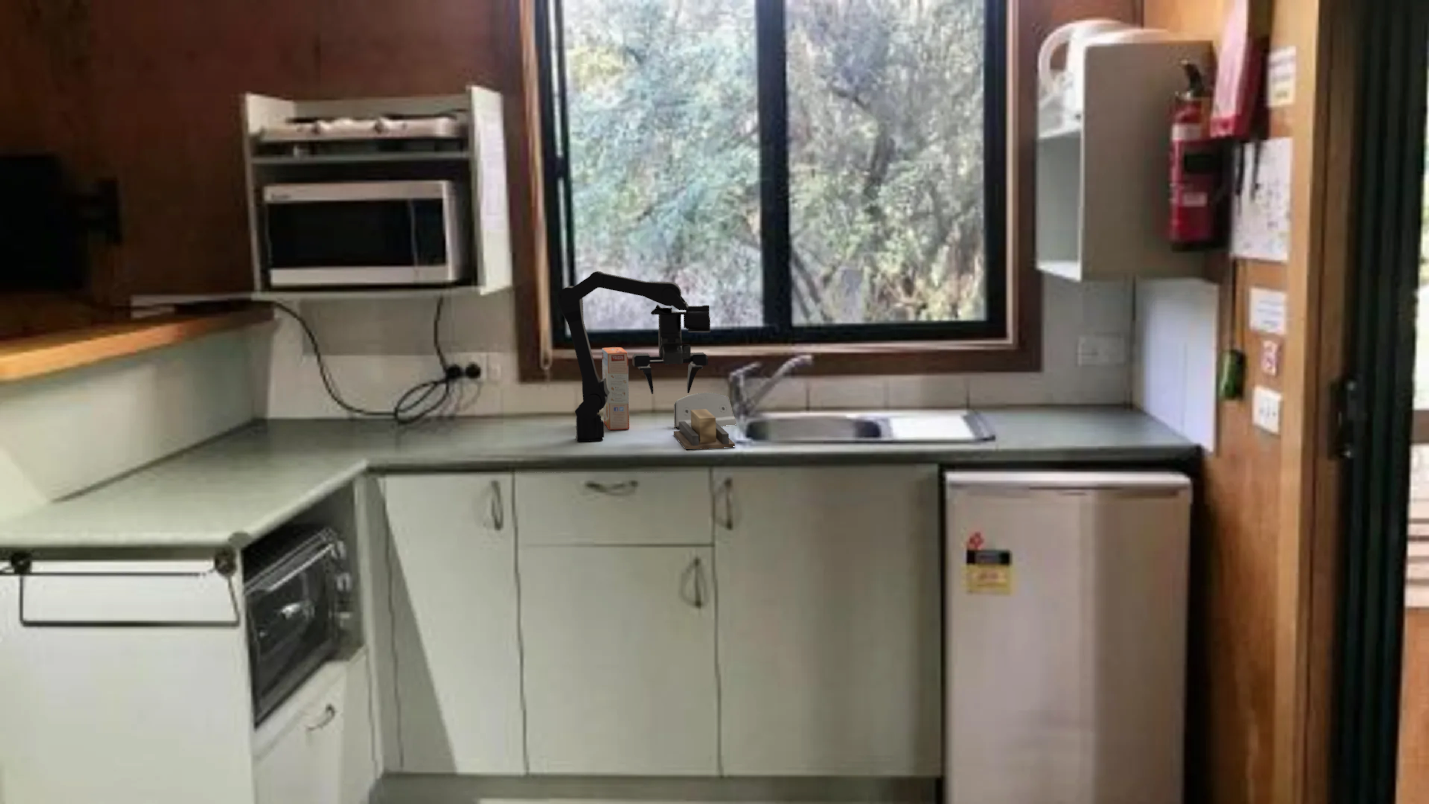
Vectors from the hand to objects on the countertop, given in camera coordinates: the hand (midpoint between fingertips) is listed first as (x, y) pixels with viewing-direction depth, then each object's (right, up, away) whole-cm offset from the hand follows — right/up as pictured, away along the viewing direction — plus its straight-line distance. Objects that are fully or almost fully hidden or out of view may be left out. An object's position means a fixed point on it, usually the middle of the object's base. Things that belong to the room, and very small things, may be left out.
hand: (670, 393), depth 339 cm
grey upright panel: (+8, -9, +20) cm, 24 cm away
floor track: (+8, -12, -3) cm, 15 cm away
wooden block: (+8, -11, -3) cm, 14 cm away
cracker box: (-15, -9, +22) cm, 28 cm away
